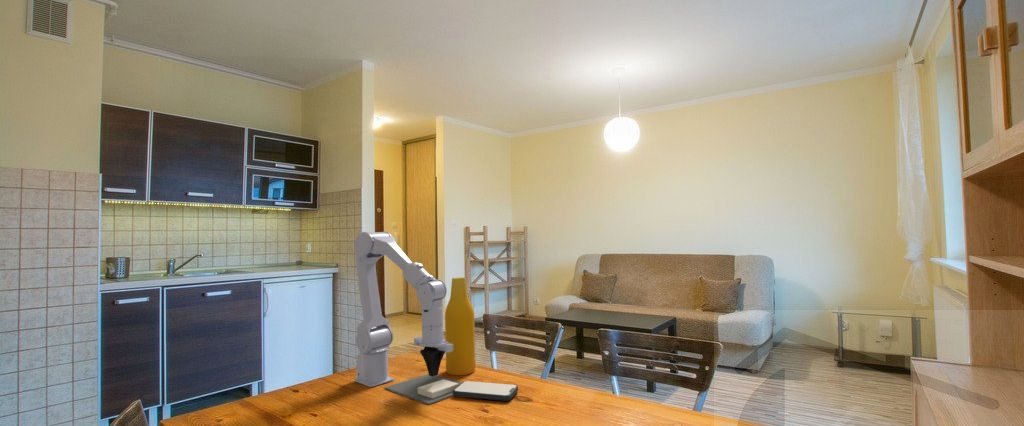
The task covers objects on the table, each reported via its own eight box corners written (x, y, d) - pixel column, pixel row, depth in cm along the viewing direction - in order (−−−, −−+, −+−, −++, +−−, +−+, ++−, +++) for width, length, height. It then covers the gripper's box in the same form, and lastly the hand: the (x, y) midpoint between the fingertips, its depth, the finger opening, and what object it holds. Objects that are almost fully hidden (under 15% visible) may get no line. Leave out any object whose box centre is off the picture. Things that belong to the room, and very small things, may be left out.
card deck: (417, 387, 122) (432, 392, 118) (443, 379, 129) (458, 383, 125) (417, 393, 122) (432, 399, 118) (443, 385, 129) (458, 389, 125)
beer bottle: (470, 365, 149) (468, 275, 150) (479, 373, 141) (477, 278, 142) (442, 369, 145) (440, 277, 147) (450, 377, 137) (448, 280, 138)
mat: (384, 388, 128) (384, 387, 128) (430, 374, 140) (430, 373, 140) (429, 405, 115) (429, 403, 115) (475, 387, 127) (475, 386, 127)
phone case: (451, 397, 120) (509, 402, 115) (450, 391, 120) (509, 396, 115) (464, 386, 128) (519, 390, 123) (464, 380, 128) (519, 384, 123)
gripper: (404, 324, 128) (405, 373, 127) (437, 330, 118) (438, 384, 117) (425, 320, 133) (426, 367, 132) (458, 326, 123) (459, 377, 123)
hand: (433, 375), depth 125 cm, fingers closed
